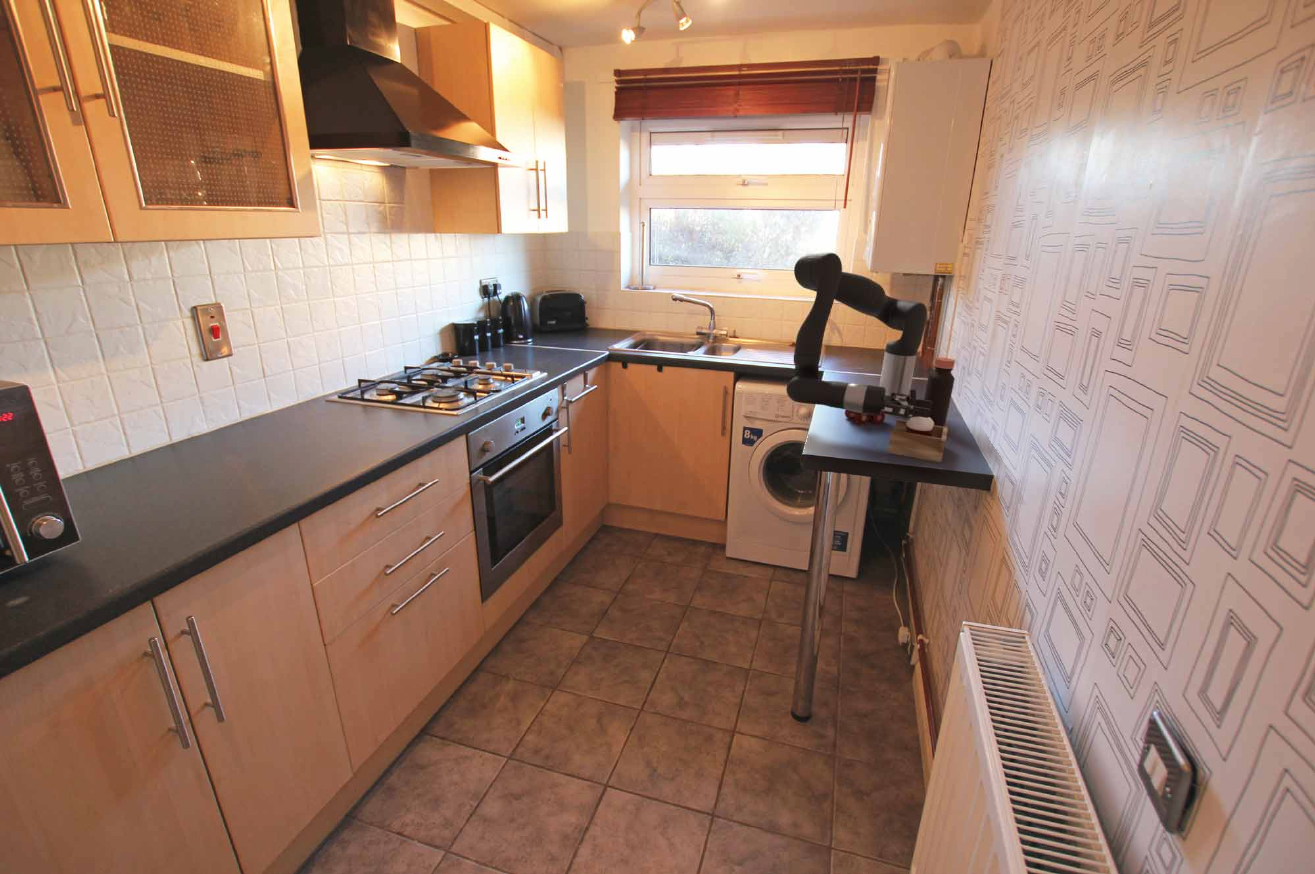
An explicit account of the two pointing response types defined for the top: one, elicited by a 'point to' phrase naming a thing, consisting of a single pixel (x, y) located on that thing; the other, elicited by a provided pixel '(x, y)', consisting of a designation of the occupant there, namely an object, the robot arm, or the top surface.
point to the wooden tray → (918, 442)
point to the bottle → (940, 390)
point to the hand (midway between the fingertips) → (930, 409)
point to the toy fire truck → (865, 417)
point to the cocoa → (918, 421)
